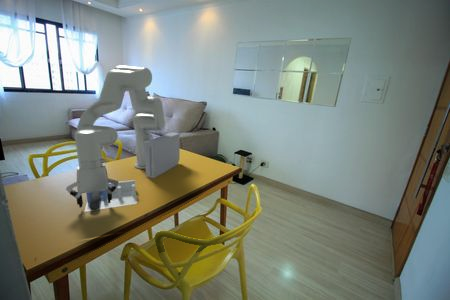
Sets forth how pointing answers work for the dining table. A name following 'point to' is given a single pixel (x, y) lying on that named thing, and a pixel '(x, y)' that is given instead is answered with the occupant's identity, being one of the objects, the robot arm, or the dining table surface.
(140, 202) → the dining table surface
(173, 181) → the dining table surface
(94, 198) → the cylinder
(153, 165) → the game console
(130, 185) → the white holder rack
